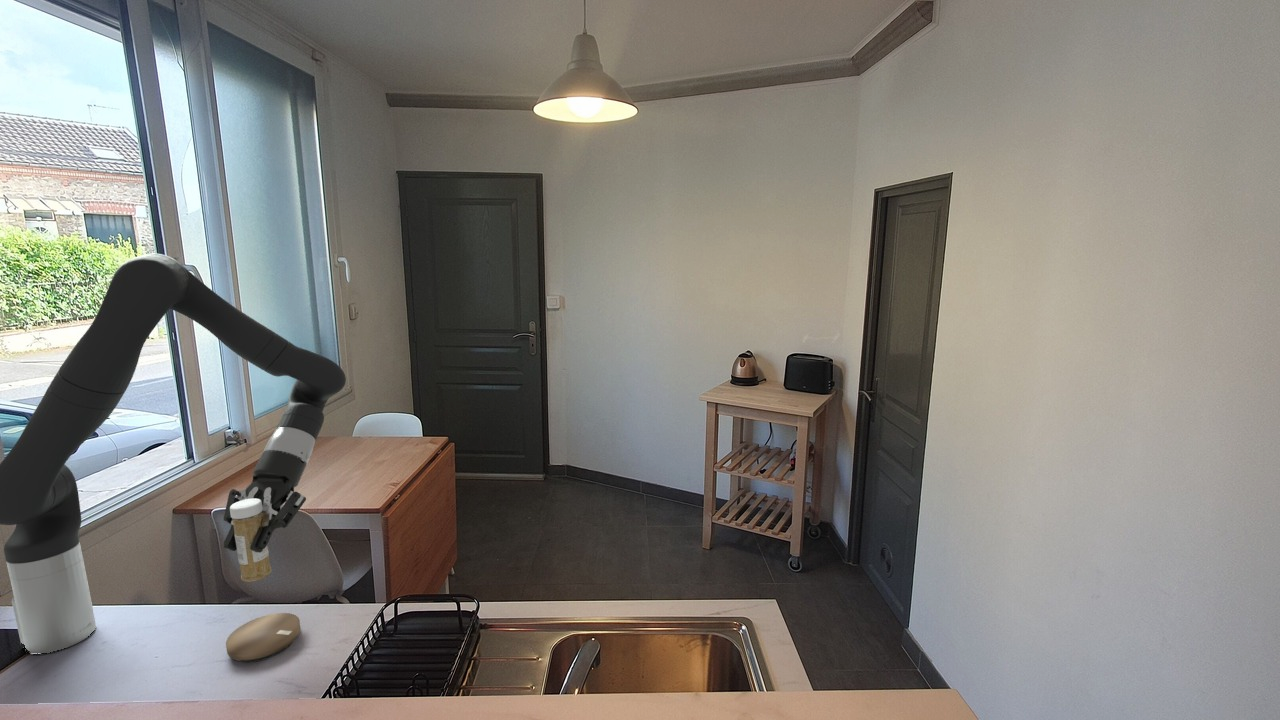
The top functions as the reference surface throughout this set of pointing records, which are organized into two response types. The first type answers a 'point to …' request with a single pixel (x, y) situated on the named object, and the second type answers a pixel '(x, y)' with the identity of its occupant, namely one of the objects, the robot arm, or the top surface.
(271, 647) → the disc
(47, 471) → the robot arm
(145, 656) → the top surface
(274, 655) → the turntable base
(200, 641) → the top surface
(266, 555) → the sprinkles bottle
